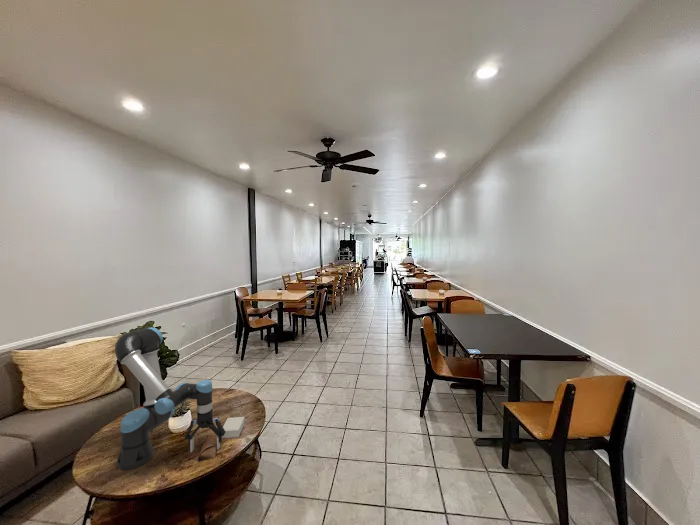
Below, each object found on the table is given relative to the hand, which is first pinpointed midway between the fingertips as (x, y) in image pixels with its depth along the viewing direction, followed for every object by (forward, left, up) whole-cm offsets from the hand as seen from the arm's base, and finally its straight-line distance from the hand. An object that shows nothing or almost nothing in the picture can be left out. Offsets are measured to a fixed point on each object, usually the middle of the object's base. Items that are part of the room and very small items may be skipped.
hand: (205, 449), depth 154 cm
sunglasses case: (0, -2, -1) cm, 3 cm away
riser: (+16, -10, 0) cm, 19 cm away
